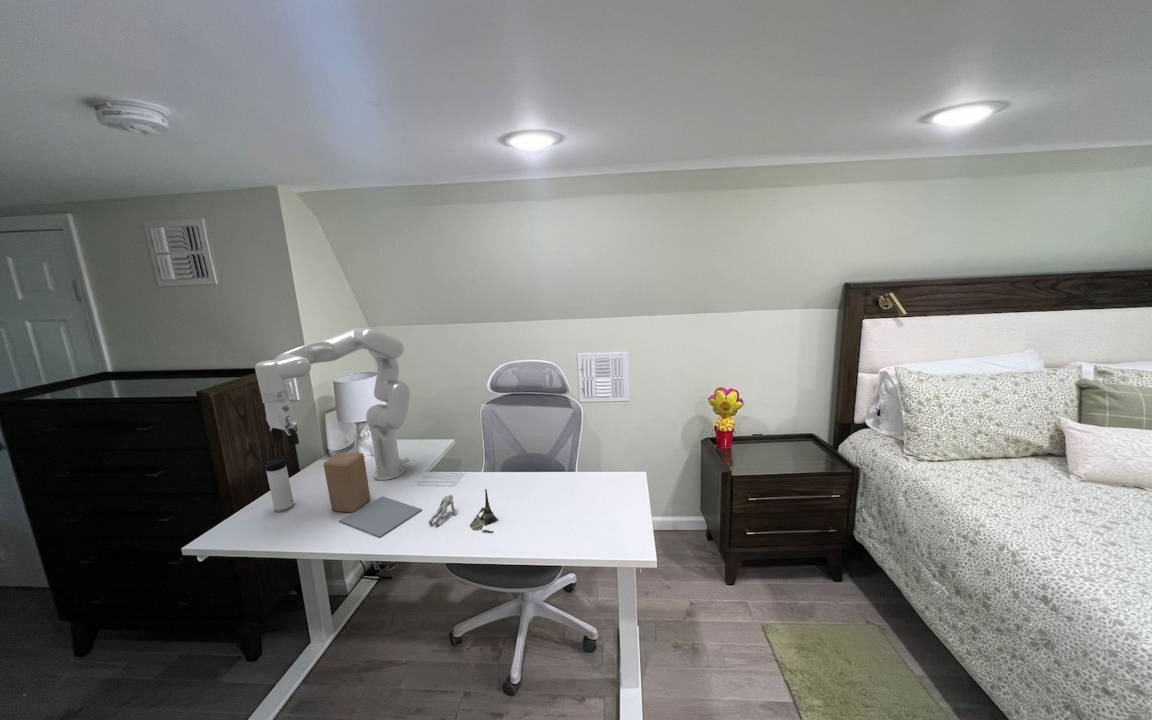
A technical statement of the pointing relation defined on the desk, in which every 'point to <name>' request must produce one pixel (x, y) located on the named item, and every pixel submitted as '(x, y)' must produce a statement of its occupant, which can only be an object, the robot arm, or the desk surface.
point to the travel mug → (279, 484)
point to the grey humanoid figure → (442, 509)
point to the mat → (380, 516)
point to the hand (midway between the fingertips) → (286, 442)
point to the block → (347, 481)
